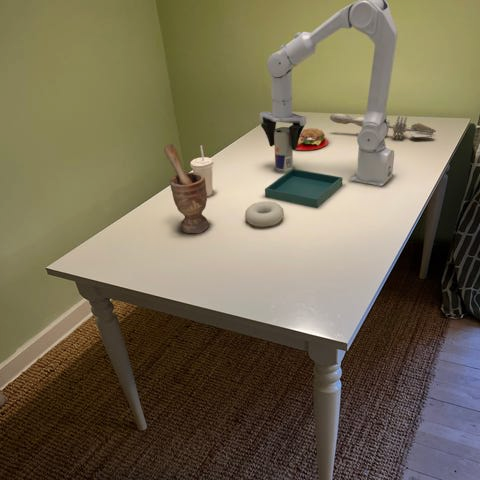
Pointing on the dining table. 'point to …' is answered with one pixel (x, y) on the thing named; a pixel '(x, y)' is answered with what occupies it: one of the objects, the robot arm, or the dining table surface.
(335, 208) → the dining table surface
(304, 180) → the tray
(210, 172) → the smoothie
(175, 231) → the dining table surface
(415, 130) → the cutlery set
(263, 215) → the donut
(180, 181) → the mortar and pestle
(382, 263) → the dining table surface
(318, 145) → the hamburger
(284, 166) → the energy drink
